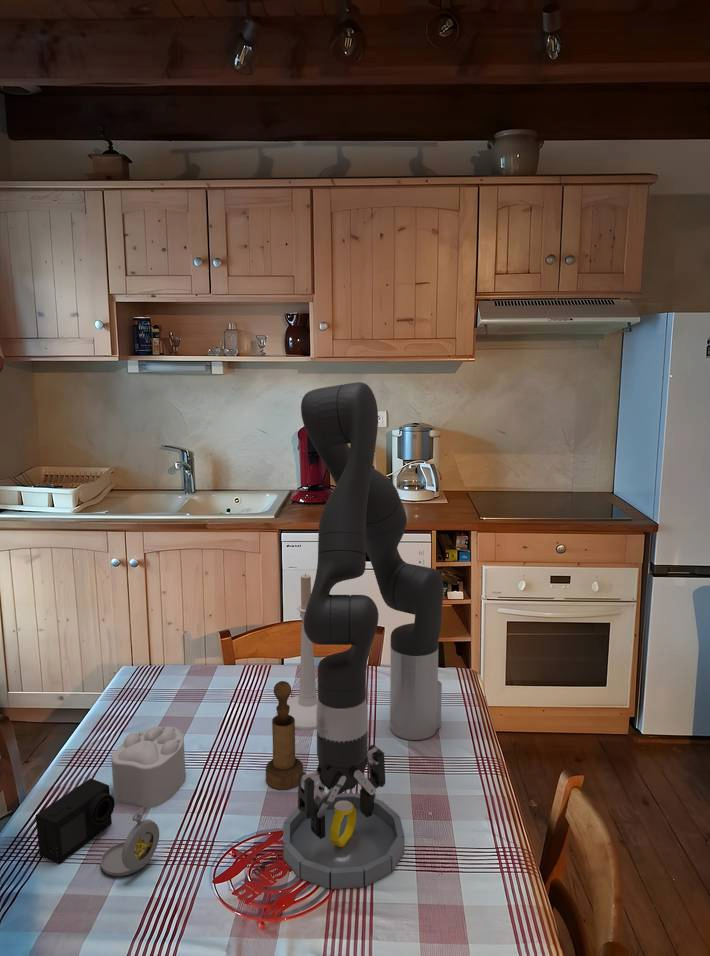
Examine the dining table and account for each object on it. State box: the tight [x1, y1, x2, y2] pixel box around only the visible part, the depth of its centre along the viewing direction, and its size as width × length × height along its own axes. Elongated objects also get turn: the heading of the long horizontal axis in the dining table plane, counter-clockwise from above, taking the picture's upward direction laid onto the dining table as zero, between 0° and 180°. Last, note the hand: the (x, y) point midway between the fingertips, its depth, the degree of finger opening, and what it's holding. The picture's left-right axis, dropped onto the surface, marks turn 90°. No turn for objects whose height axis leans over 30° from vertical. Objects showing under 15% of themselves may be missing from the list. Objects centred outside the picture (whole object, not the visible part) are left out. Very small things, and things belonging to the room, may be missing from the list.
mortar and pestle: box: [265, 680, 304, 790], centre depth 125 cm, size 7×6×18 cm
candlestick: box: [276, 573, 318, 731], centre depth 146 cm, size 13×13×30 cm
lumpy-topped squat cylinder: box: [110, 725, 187, 809], centre depth 125 cm, size 10×13×9 cm
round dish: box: [282, 792, 405, 890], centre depth 109 cm, size 18×18×2 cm
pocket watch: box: [100, 807, 160, 877], centre depth 105 cm, size 8×8×10 cm
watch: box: [330, 801, 357, 848], centre depth 109 cm, size 6×3×6 cm, turn 153°
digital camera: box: [35, 778, 116, 865], centre depth 110 cm, size 10×5×7 cm, turn 152°
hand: (343, 824), depth 109 cm, fingers open, 8 cm apart
